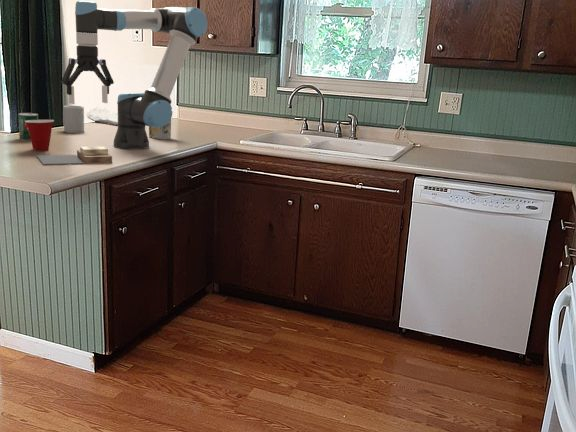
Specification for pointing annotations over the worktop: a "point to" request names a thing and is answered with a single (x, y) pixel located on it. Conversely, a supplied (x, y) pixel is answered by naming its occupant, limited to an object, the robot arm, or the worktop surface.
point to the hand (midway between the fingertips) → (88, 103)
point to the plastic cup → (40, 133)
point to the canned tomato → (25, 125)
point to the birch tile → (93, 150)
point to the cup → (74, 119)
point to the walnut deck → (94, 158)
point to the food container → (103, 116)
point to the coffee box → (161, 132)
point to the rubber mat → (59, 159)
